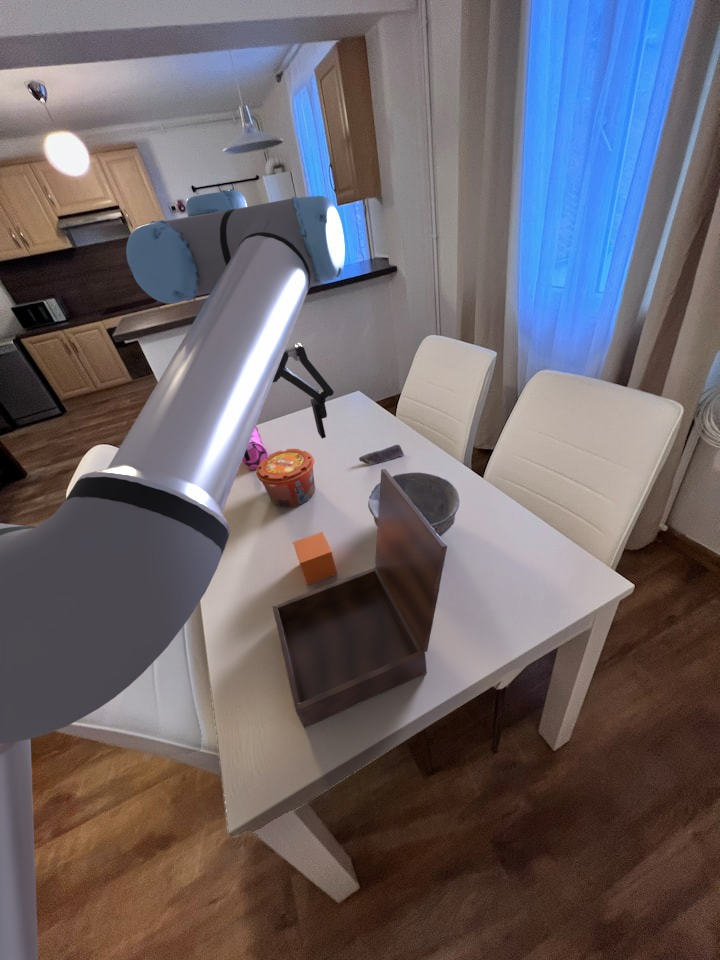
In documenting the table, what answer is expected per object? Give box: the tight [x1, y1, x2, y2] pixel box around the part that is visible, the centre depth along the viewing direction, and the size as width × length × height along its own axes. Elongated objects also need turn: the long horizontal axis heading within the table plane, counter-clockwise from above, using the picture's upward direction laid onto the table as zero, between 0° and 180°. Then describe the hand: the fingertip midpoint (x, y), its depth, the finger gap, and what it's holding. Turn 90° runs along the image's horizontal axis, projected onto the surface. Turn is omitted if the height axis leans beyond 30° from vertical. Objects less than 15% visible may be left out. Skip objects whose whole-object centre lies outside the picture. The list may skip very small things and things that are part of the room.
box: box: [271, 566, 428, 729], centre depth 73 cm, size 22×21×6 cm
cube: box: [292, 531, 338, 586], centre depth 89 cm, size 7×7×7 cm
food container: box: [255, 448, 316, 508], centre depth 112 cm, size 16×16×11 cm
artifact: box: [358, 444, 405, 466], centre depth 123 cm, size 4×14×2 cm, turn 107°
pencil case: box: [241, 425, 269, 470], centre depth 134 cm, size 21×10×10 cm, turn 24°
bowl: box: [367, 471, 460, 537], centre depth 94 cm, size 21×21×10 cm
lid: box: [374, 468, 448, 653], centre depth 67 cm, size 23×21×4 cm
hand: (285, 446), depth 71 cm, fingers open, 13 cm apart
